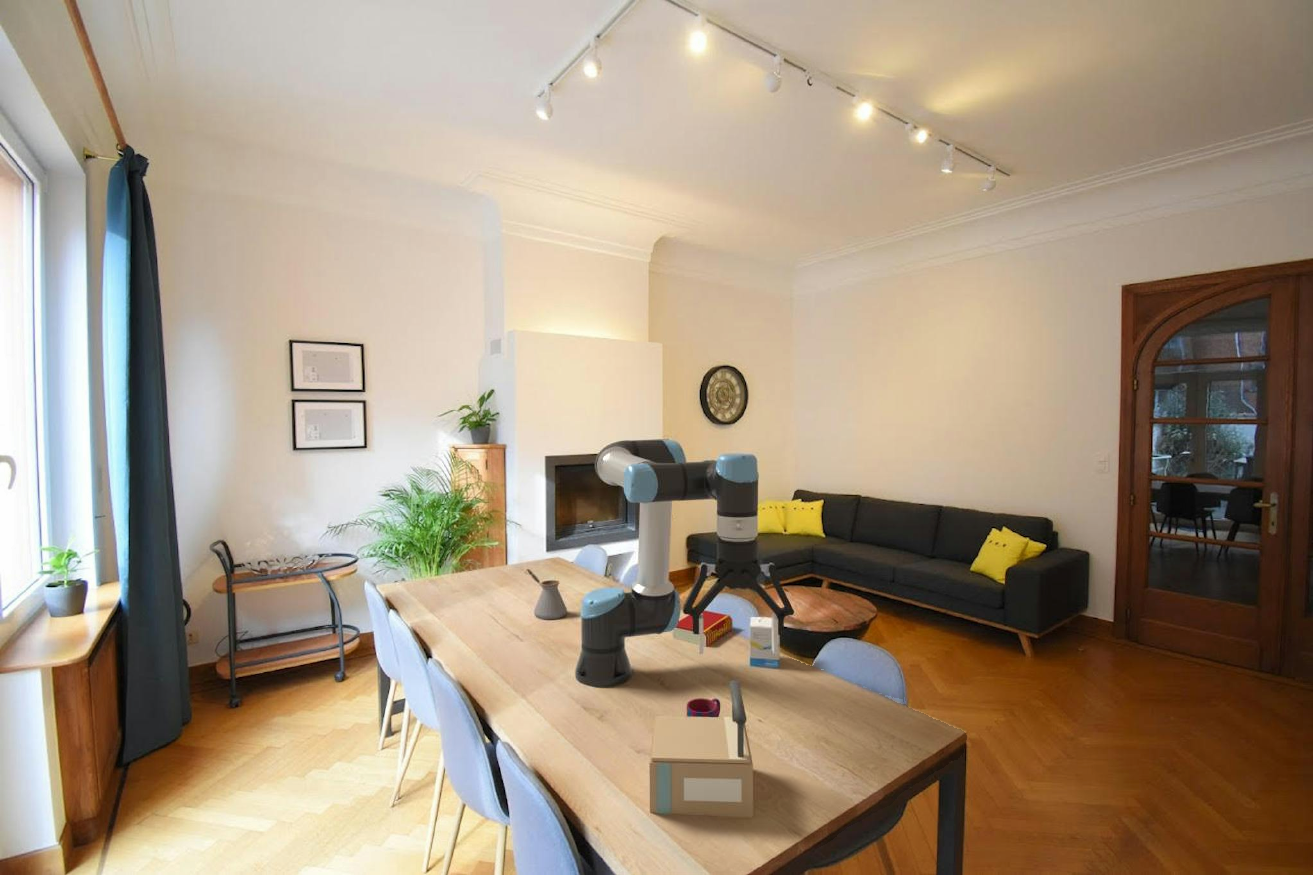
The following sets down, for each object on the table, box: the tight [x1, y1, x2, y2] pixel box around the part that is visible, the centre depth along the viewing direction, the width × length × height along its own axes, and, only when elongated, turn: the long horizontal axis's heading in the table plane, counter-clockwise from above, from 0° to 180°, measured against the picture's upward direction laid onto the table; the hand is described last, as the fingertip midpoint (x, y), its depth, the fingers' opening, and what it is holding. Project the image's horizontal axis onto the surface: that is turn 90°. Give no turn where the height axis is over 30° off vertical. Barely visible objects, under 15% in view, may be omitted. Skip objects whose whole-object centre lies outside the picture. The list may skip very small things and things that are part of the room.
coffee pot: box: [524, 568, 568, 621], centre depth 209 cm, size 21×12×15 cm, turn 43°
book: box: [672, 609, 733, 647], centre depth 189 cm, size 18×13×5 cm
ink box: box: [749, 616, 781, 669], centre depth 168 cm, size 9×8×12 cm
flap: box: [651, 680, 750, 764], centre depth 109 cm, size 17×14×8 cm
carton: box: [649, 718, 754, 819], centre depth 109 cm, size 18×15×10 cm
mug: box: [686, 697, 721, 717], centre depth 130 cm, size 7×10×7 cm
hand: (737, 651), depth 108 cm, fingers open, 13 cm apart
